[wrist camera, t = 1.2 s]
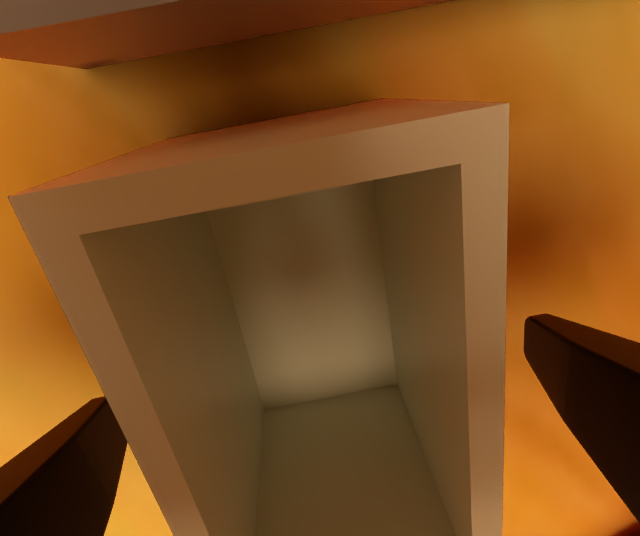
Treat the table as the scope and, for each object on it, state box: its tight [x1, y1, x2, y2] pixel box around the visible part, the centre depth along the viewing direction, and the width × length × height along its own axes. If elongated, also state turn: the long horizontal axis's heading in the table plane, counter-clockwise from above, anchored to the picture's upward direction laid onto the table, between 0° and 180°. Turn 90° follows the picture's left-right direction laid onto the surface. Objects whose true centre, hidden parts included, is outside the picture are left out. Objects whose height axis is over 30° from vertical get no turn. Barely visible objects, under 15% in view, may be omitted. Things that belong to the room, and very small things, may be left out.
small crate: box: [8, 99, 510, 536], centre depth 10 cm, size 6×10×7 cm, turn 10°
